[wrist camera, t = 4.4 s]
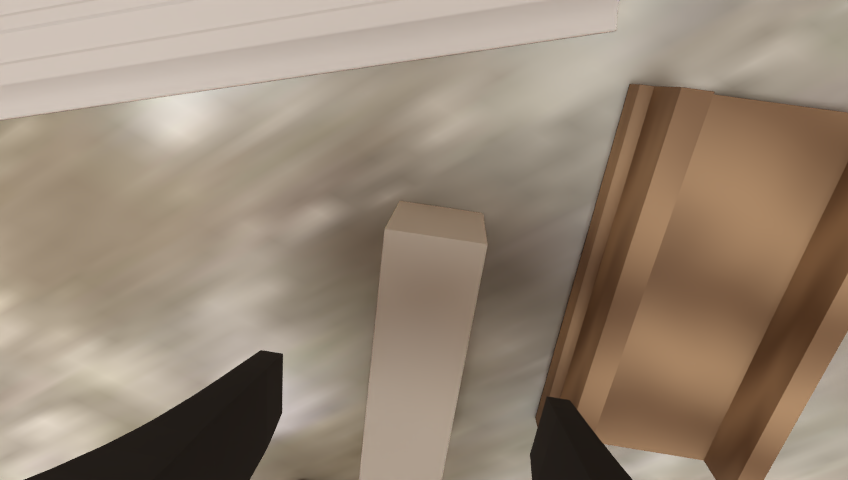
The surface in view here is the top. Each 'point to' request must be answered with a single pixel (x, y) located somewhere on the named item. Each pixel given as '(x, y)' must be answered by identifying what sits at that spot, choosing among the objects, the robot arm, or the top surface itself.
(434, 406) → the beige rectangular block
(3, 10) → the baseboard
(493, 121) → the top surface
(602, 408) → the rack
